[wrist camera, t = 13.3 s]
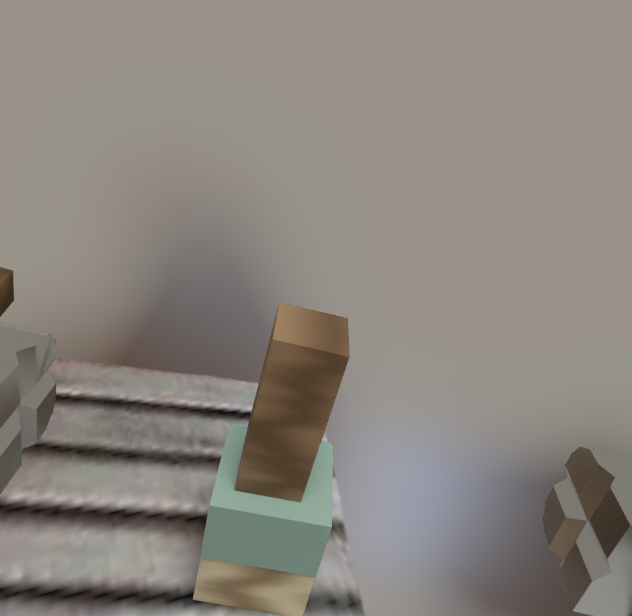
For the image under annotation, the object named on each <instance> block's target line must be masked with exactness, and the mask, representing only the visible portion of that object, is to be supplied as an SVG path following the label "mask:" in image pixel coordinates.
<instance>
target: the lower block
mask: <svg viewBox="0 0 632 616" xmlns="http://www.w3.org/2000/svg"><path fill="white" fill-rule="evenodd" d="M314 580H315V577H312V576H306V575H301V574H295V573H289V572H283V571H277V570H272V569H266V568H260V567H254V566H249V565H243V564H237V563H231V562H225V561H220V560H214V559H208V558H202V557H200V562H199V568H198V574H197V579H196V585H195V590H194V596H193V600H198V601H204V602H210V603H215V604H221V605H227V606H232V607H238V608H244V609H249V610H255V611H260V612H266V613H272V614H277V615H283V616H303V614H304V611H305V607H306V604H307V601H308V598H309V595H310V592H311V589H312V586H313V583H314Z"/></svg>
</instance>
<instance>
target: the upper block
mask: <svg viewBox="0 0 632 616" xmlns="http://www.w3.org/2000/svg"><path fill="white" fill-rule="evenodd" d="M247 429H248V428H247V427H242V426H237V425H231V424H230V425H229V429H228V433H227V437H226V441H225V445H224V449H223V453H222V457H221V461H220V465H219V469H218V473H217V477H216V481H215V485H214V489H213V493H212V497H211V501H210V505H209V510H208V515H207V521H206V527H205V532H204V538H203V543H202V549H201V555H200V557H202V558H208V559H214V560H220V561H225V562H231V563H237V564H243V565H249V566H254V567H260V568H266V569H272V570H277V571H283V572H289V573H295V574H301V575H306V576H312V577H316V574H317V571H318V568H319V565H320V562H321V559H322V556H323V553H324V550H325V546H326V543H327V540H328V537H329V534H330V531H331V528H332V472H333V444H332V443H326V442H321V443H320V446H319V449H318V452H317V455H316V458H315V461H314V465H313V468H312V471H311V474H310V477H309V480H308V483H307V486H306V489H305V492H304V495H303V498H302V501H301V503H300V502H295V501H290V500H285V499H280V498H275V497H270V496H265V495H260V494H255V493H250V492H246V491H241V490H236V489H235V485H236V480H237V475H238V470H239V465H240V460H241V455H242V450H243V445H244V441H245V437H246V433H247Z"/></svg>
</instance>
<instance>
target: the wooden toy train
mask: <svg viewBox="0 0 632 616" xmlns="http://www.w3.org/2000/svg"><path fill="white" fill-rule="evenodd" d="M13 291H14V289H13V271H12V270H8V269H4V268H1V267H0V316H1V315H2V314H3V313H4V311H5V310H6V309H7V308H8V307H9V305H10V304H11V303H12V302H13V301H14V292H13Z"/></svg>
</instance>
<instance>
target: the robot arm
mask: <svg viewBox="0 0 632 616" xmlns="http://www.w3.org/2000/svg"><path fill="white" fill-rule="evenodd" d="M55 360H56V340H55V338H54V337H53V336H52V335H51V334H49V333H45V332H40V331H36V330H32V329H28V328H23V327H19V326H15V325H10V324H6V323H2V322H0V494H1V493H2V491H3V490H4V488H5V487H6V486H7V484H8V483H9V481H10V480H11V478H12V477H13V476H14V474H15V473H16V471H17V470H18V469H19V467H20V466H21V450H22V449H25V448H27V447H29V446H31V445H33V444H35V443H37V442H38V440H39V439H40V437H41V436H42V434H43V433H44V431H45V430H46V427H47V425H48V422H49V420H50V417H51V415H52V412H53V408H54V403H55V398H56V382H55V381H54V379H53V378H52V376H51V375H50V374H49V372H48V371H47V370H48V369H49V367H50V366H51V365H52V364H53V362H54V361H55ZM565 467H566V471H567V474H568V478H567V479H565V480H563V481H561V482H560V483H558V484H556V485H554V486H553V488H552V490H551V492H550V493H549V495H548V497H547V500H546V501H545V508H544V515H543V524H544V532H545V535H546V539H547V542H548V544H549V546H550V548H551V549H552V550H553V551H554V552H555V553H556V554H557V555H558V556H559V557H560V558H561V559H562V560H563V562H562V564H561V566H560V568H559V570H558V573H559V575H560V578H561V581H562V584H563V586H564V589H565V592H566V595H567V597H568V600H569V603H570V606H571V608H572V611H574V612H579V613H583V614H587V615H592V616H632V457H629V456H624V455H619V454H614V453H609V452H604V451H599V450H594V449H589V448H584V447H579V448H578V449H577V450H575V451H574V452H573V453H572V454H571V456H570V457H569V459H568V461H567V463H566V464H565Z"/></svg>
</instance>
